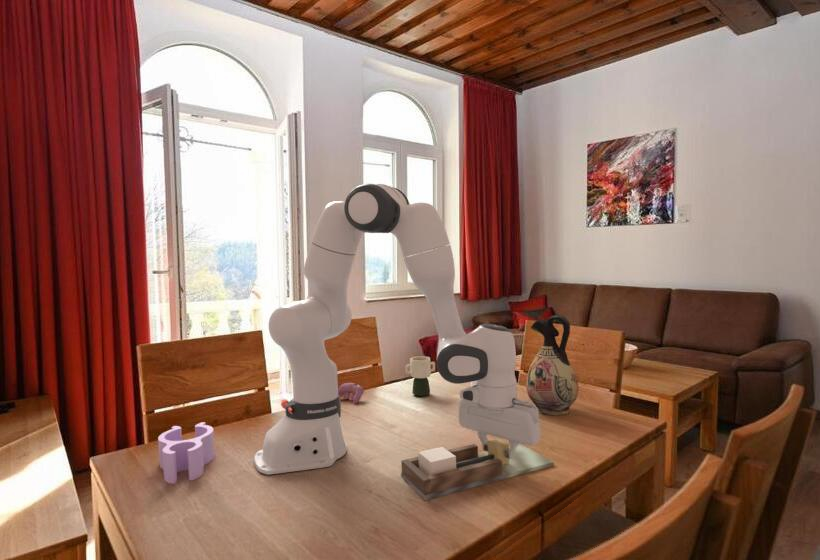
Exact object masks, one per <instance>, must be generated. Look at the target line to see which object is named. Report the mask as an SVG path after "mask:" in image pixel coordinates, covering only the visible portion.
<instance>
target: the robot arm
mask: <svg viewBox="0 0 820 560" xmlns="http://www.w3.org/2000/svg"><path fill="white" fill-rule="evenodd" d="M319 216H320V217H319V218H318V221H317V223H316V226H315V228H314V231H313V234H312V238H311V240H310V244H309V247H308V251H307V255H306V259H305V263H304V266H303V274H304V276H305V278H306V280H307V281H308V288H309V289H308V290H309V291H308V295H307V297H306V298H305V299H302V300H296V301H290V302H287V303H286V304H284V305H282V306H280V307H278V308H276V309H275V310H273V312H272V313H271V315H270V317H269V320H268V331H269V335H270V338H271V339H272V340H273V341H274V343H275V344H276V345H278V346H279V348H281V349H282V350H283V351H284V353H285V355H286V357H287V360H288V364H289V367H290V371H291V381H292V396H293V397H292V399H291V400H290V401H289V400H288V399H286V398H285V399H282V400H281V402H280V406H281V407H282V408H283V409H284V412H285V416H283V417H282V418H281V419H280V420H279V421H277V423H275V425H274V426H273V427H271V428H269V430H267V432H266V434H265V436H264V440H263V446H262V449H259V450H258V451H257V452H255V454H254V458H253V464H254V466H255V469H256V470H257V471H258V472H260V473H261V474H264V475H268V476H269V475H275V474H276V475H277V474H278V475H279V474H285V473H291V472H300V471H305V470H307V471H308V470H314V469H321V468H322V469H323V468H328V467H332V466H333V465H334V464H335V462H336V461H337V460H338V459H340V458H342V457H344V456H345V455H346V453H347V451H348V448H347V446H346V443H345V440H344V435H343V431H342V423H341V418H342V417H341V413H342V405H341V404H342V403H341V402H342V401H341V398H340V396H339V395H338V389H339V385H338V384H339V383H338V381H339V380H338V366H337V364H336V363H335V362H334V361H333V360H332V359H331V358H330V357H329V355H328V353H327V350H326V346H325V345H326V344H325V341H326V340H330V339H333V338H336V337H337V336H339V335H340V334H342V333H343V332H345V331H346V330H347V329H348V328H349V327H350V325H351V322H352V316H353V315H352V311H351V308H350V306H349V304H348V286H349V279H350V276H351V272H352V269H353V265H354V262H355V257H356V255H357V251H358V247H359V245H360V244H359V243H360V241H361V239H362V237H363V235H364V234H366V233H368V234H389V233H390V234H392V235H393V236H395V237H396V239H397V241H398V243H399V246H400V250H401V253H402V257H403V260H404V264H405V267H406V269H407V272H408V274H409V277H410V279H411V281H412V282H413V284H414V286H415V287H416V288H417V289H418V290H419V291H420V292H421V294H423V295H424V297H425V298H426V300H427V303H428V304H429V305H428V306H429V307H430V311H431V314H432V316H433V321H434V324H435V327H436V332H437V338H438V339H437V344H436V368H437V372H438V373H439V376H441V378H443V380H445V381H447V382H448V383H451V384H459V385H460V384H466V383H471V382H472V381H477V385H474V386H471V385H470V386H468V387H466V388H463V389H462V390H460V391H459V398H460V399H461V400H460V401H459V404H458V423H459V425H460V426H461V428H463V429H468V430H471V431H475V432H477V437H478V439H479V441H480V442H481V444H482V445H481V446H482V449H481V450H482V451H483V452H485V453H486V452H488V441H489V439H488V436H487V435H489V436H492V437H497V438H498V439H504V440H508V444H509V447H510V448H509V449H508V450H505V454H506V455H505V457H506V458H509V459H513V458H514V457H515V449H516V448H517V446H518V445H520V444H521V445H523V446H527V447H528V446H529V447H531V446H534V445H536V444H538V443H539V442H540V441H541V437H542V436H541V435H542V434H541V426H540V421H539V419H540V414H539V413H540V412H539V411H538V408H537V407H536V405H535V404H534V403H533V402H532V401H528V400H523V399H519V398H518V395H517V393H518V389H517V385H518V384H517V377H516V375H515V373H516V372H515V371H516V370H515V369H516V366H517V353H516V352H517V350H516V343H515V342H516V341H515V337H514V336H515V335H514V334H513V332H512V331H511V330H510V329H508V328H507V327H505V326H504V325H501V324H500V325H499V324H496V323H482V324H479V326H478V327H476V328H475V329H474V330H472V331H470V332H469V333H467V331H465V328H464V326H463V323H462V321H461V317H460V314H459V311H458V305H457V302H456V299H455V293H454V290H455V289H454V286H455V279H456V278H455V276H456V275H455V274H456V273H455V272H456V268H455V260H454V254H453V250H452V245H451V243H450V240H449V236H448V234H447V230H446V228H445V226H444V224H443V221H442V219H441V217H440V215H439V212H438V211H437V209H436V207H435V206H433V205H432V204H430V203H428V202H427V203H426V202H414V203H411V204H410V202H409V198H408V197H407V196H406V194H405V193H404V192H403V191H402V190H400V189H399V188H396V187H394V186H393V187H392V186H391V185H387V184H383V183H378V184H377V183H376V184H374V183H364V184H361V185H358V186H356V187H354V188H353V189H352V190H351V191H350V192H349V193H348V195H347V196H346V198H345V201H341V200H340V201H339V200H338V201H332V202H329V203H327V204H326V206H325V207H324V208H323V210H322V212H321V215H319Z"/></svg>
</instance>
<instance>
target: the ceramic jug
mask: <svg viewBox="0 0 820 560" xmlns="http://www.w3.org/2000/svg"><path fill="white" fill-rule="evenodd" d="M555 322H556V323H559V324H561V325H562V327H563V332H562V336H561V341H560V343H559V344H558V343H557V340H556V337H559V336H560V332H559V330H558V329H557V328H556V327H555V326H554V323H555ZM530 329H531V330H532V331H535V332H537V333H539V334H541V335H542V336H543V344H542V346H541V347H540V349H539V350H538V352H537V353H536V355H535V357H534V358H533V360H532V362H531V364H530V366H529V369H528V372H527V376H526V381H525V382H526V383H525V385H526V386H525V387H526V392H527V396H528V398H529V399H530V400H531V402H532V403H533V405H535V406H536V407H537V408H538V411H539V413H540V414H544V415H549V416H561V415H567V414H569V412H570V407H571V406H572V405H573V404H574V403H575V402H576V400H577V398H578V395H579V389H580V387H579V381H578V375H577V374H576V371H575V370H574V367H573V365H572V363H571V362H570V360H569V357H568V354H567V351H566V349H567V343H568V340H569V337H570V334H571V325H570V321H569V320H568V319H567V318H566V317H565V316H564V315H561V314H554V315H551V316H550V317H548V318H547V320H546V318H545V317H542V319H541V320H538V319H537V320H535V321H534V322H533V323H532V325H531V326H530Z"/></svg>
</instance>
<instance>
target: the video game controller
mask: <svg viewBox="0 0 820 560" xmlns="http://www.w3.org/2000/svg"><path fill="white" fill-rule="evenodd" d="M364 393H365V390H364V388H363V387H362V386H361V385H359V384H357V383H354V382H345V383H344V382H343V383H342V384H341V385H340V386H338V395H339V396H340V399H341V398H342V396H343V399H345V400H351V401H352V403H353V404H354V405H356V404H358V403H359V402H360V400H361V399H362V396H363V395H364Z"/></svg>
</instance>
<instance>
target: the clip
mask: <svg viewBox="0 0 820 560" xmlns="http://www.w3.org/2000/svg"><path fill="white" fill-rule="evenodd" d="M194 432H195V433H194V434H195V437H193V438H190V439H184V440H183V435H182V433H183V432H182V427H181V426H178V425H173V426H171V429H168V430H167V431H164V432H162V433H161V434H160V435H159V436H158V438H157V442H158V446H157V447H158V457H159V459H158V460H159V467H160V469H161V468H162V469H161V470H163V480H164V482H165V481H166V482H165V483H167V482H168V484H176V483H177V482H178V473H180V472H183V470H184V471H188V480H189V481H195V480H196V479H198V478H200V477H202V475H203V474H204V473H205V471H204V468H205V467H204V466H205V465H207V464H208V463H211V461H213V460H214V459H215V456H216V455H215V454H216V452H215V451H216V450H215V435H214V428H213V427H212V426H211V425H208V424H206V422H204V421H203V422H202V421H201V422H199V423H196V424H195V426H194Z"/></svg>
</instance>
